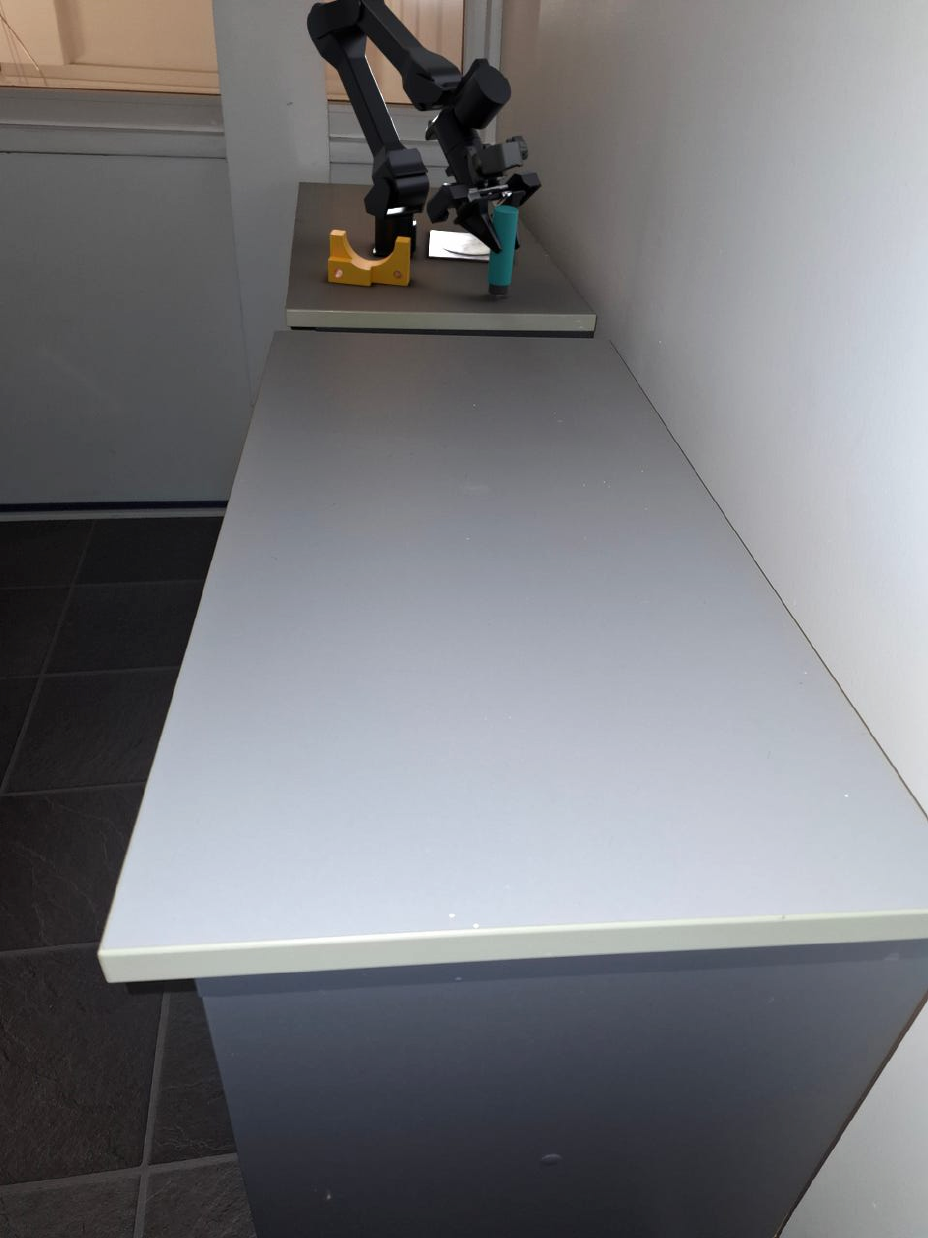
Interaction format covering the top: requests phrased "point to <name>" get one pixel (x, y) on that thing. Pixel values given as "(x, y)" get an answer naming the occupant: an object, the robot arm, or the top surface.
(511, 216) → the dot marker
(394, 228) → the robot arm
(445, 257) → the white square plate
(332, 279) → the pipe clamp
